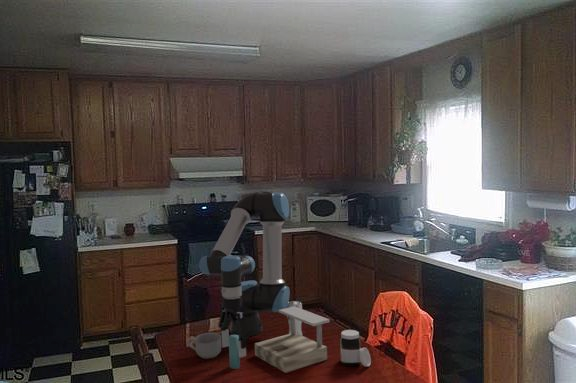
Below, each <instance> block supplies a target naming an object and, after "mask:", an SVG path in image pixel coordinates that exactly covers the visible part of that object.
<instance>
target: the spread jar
mask: <svg viewBox="0 0 576 383" xmlns="http://www.w3.org/2000/svg"><path fill="white" fill-rule="evenodd" d="M340 336H341V337H340V342H339V344H340V345H339V346H340V361H341V364H342V365H344V366H348V367H355V366H358V365H360V364H362V365H363V366H364V367H366V368H367V367H370V366H371V363H372V357H371V354H370V351H369V349H368V348H367V347H362V348H361V340H360V332H359V331H357V330H355V329H345V330H343V331H341V333H340Z"/></svg>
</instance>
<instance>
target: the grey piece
mask: <svg viewBox="0 0 576 383" xmlns="http://www.w3.org/2000/svg"><path fill="white" fill-rule="evenodd" d="M278 313H280V314H282V315H284V316H286V317H287V316H289V317H290V318H291V335H293V336H294V335H296V325H295V319H297V320H299V321H302V323H304V324H307V325H310V326H311V327H316V342H317V347H319V348H320V347H322V345H323V333H322V332H323V329H322V327H323V325H324V324H326V323H327V324H328V323H330V318H326V317H324V316H321V315H319V314H315V313H313V312H311V311H309V310H305V309H303V308H302V309H300V308H297V307H295V306H293V307H289V308H287V307H286V308H285V309H281V310H279V312H278Z"/></svg>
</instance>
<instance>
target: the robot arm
mask: <svg viewBox="0 0 576 383" xmlns="http://www.w3.org/2000/svg"><path fill="white" fill-rule="evenodd" d="M289 215H290V204H289V200H288V198H287V196H286V195H285V194H284V193H281V192H253V193H249V194H246V195H245V196H243V197H242V198H240V199H239V200H238V202H236V204H235V205H234V207H232V209H231V211H230V218H229V220H228V222H227V224H225V227H224V229H223V230H222V232H221V234H220V236H219V238H218V240H217V242H216V243H215V245H214V247H213V249H212V250H211V252H210V254H209V255H205V256H202V257H201V258H200V260H199V264H198V265H199V266H198V267H199V270H200V273H202V274H204V275H208V276H209V275H210V276H220V278H221V291H220V292H221V296H222V298H221V301H222V303H221V305H222V306H221V309H220V310H221V312H220V315H219V316H220V317H219V322H218V328H220V331H221V348H226V347H229V336H230V335H238V336H239V339H238V344H239V357H240V358H244V357H247V341H246V340H248V339H250V337H253V336H256V335H260V333H262V332H263V331H264V330H263V323H262V320H261V317H260V315H259V312H269V313H270V312H272V313H279V310H281V309H285V308H287V303H288V302H290V301H289V300H290V295H291V291H290V287H289V286H287V285H286V281H285V280H284V279H283V278H282V277H283V276H282V273H283V269H282V267H283V266H282V265H283V264H282V262H283V260H282V256H283V255H282V254H283V253H282V246H283V244H282V241H283V240H282V234H283V232H282V226H283V224H285V222H286V219H288V217H289ZM253 219H259V223H260V224H261V225H262V278H261V279H260V281H259V284H258V282H257V280H245V281H242V278H244V277H246V276H249V275H250V274H251V273H253V271H255V268H256V262H255V260H254V259H253V257H252V256H250V255H242V256H239V255H232V252H233V251H234V248H235V246H236V244H237V242H238V241H239V238H240V237H241V234H242V233H243V230H244V229H245V227H246V225H247V224H249V223H250V221H251V220H253ZM229 333H230V334H229Z"/></svg>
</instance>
